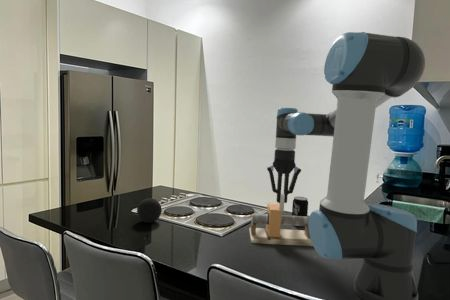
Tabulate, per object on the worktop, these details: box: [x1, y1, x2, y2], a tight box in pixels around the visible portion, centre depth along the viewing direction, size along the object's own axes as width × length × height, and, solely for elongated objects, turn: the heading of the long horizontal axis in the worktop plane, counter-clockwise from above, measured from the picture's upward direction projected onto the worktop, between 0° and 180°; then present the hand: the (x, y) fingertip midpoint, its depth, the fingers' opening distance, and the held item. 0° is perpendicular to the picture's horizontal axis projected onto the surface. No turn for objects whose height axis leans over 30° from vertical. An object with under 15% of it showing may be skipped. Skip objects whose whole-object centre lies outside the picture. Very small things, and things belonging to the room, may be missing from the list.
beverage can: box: [291, 196, 309, 228], centre depth 144 cm, size 7×7×12 cm
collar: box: [265, 202, 283, 237], centre depth 126 cm, size 4×10×10 cm, turn 0°
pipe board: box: [248, 213, 314, 247], centre depth 126 cm, size 23×14×9 cm, turn 89°
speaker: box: [136, 197, 163, 224], centre depth 137 cm, size 10×10×10 cm
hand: (281, 211), depth 126 cm, fingers closed
